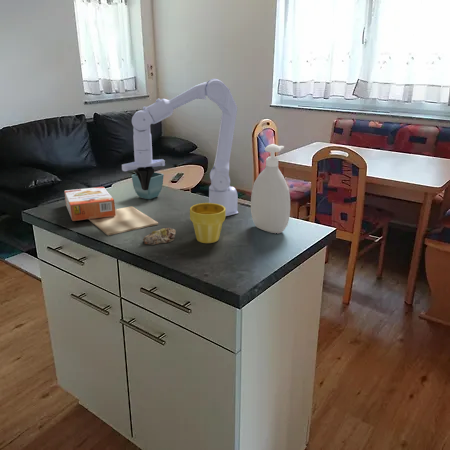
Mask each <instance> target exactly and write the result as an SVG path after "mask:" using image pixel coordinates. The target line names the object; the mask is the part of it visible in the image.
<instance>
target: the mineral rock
mask: <svg viewBox="0 0 450 450" xmlns="http://www.w3.org/2000/svg"><path fill="white" fill-rule="evenodd" d="M176 232H177V231H176V229H174V228H171V227H166V228H163V227H162V228H161V229H159V230H152V231H151V233H149V234H148V235H145V236H144V237H143V239H142V240H143V241H142V242H143V243H144V245H159V244H168V243H170V242H172V241H174V240H175V238H176Z"/></svg>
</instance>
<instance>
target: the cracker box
mask: <svg viewBox="0 0 450 450" xmlns="http://www.w3.org/2000/svg"><path fill="white" fill-rule="evenodd" d="M64 199H65V206H66V209H67V211H68V213H69V216H70V219H71V220H72V222H76V221H84V220H88V219H94V218H102V217H110V216H116V214H115V209H116V205H115V199H114V198H113V196H112V195H111V194H110V193H109V192H108V190H107V189H106V188H105V187H104V186H97V187H88V188H79V189H78V188H76V189H67V190H64Z"/></svg>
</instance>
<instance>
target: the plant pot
mask: <svg viewBox="0 0 450 450" xmlns="http://www.w3.org/2000/svg"><path fill="white" fill-rule="evenodd" d="M225 215H226V209H225V207H224V206H222V205H220V204H215V203H209V202H201V203H195V204H193V205H192V206H190V208H189V219H190V221H191V222H192V225H193V229H194V233H195V238H196V240H197V242H199V243H203V244H212V243H216V242H218V241H219V239H220V235H221V231H222V228H223V224H224V222H225V220H226V216H225Z"/></svg>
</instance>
